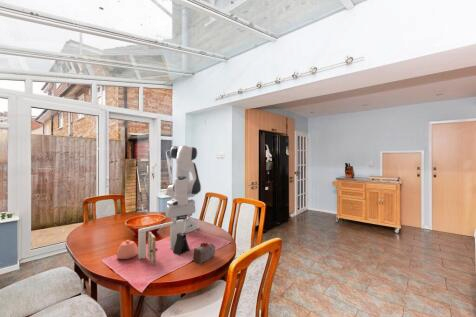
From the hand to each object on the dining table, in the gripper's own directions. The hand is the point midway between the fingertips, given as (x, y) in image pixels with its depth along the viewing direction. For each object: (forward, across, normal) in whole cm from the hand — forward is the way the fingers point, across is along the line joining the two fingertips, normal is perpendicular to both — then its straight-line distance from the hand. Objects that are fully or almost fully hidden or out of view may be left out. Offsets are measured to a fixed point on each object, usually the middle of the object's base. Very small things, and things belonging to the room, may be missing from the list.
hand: (181, 222), depth 145 cm
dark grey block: (+20, -5, +19) cm, 28 cm away
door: (+20, +19, -1) cm, 27 cm away
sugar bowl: (+20, +28, -18) cm, 39 cm away
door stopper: (+20, 0, 0) cm, 20 cm away
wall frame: (+20, +8, -9) cm, 23 cm away
